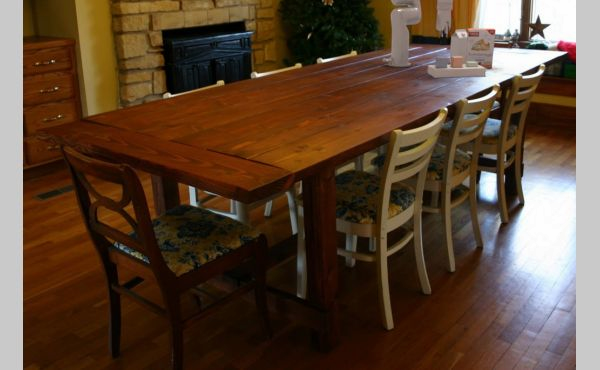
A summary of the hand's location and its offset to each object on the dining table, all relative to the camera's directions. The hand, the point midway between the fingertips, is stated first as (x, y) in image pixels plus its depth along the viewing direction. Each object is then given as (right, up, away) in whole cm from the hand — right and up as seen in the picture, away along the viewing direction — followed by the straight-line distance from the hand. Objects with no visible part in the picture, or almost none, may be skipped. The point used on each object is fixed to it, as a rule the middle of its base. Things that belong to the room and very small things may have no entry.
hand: (443, 44), depth 315 cm
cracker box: (+25, -7, +24) cm, 35 cm away
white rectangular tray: (+8, -14, +6) cm, 17 cm away
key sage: (+16, -13, +6) cm, 21 cm away
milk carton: (+18, -2, +39) cm, 43 cm away
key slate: (0, -11, +4) cm, 11 cm away
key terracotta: (+8, -10, +5) cm, 14 cm away
